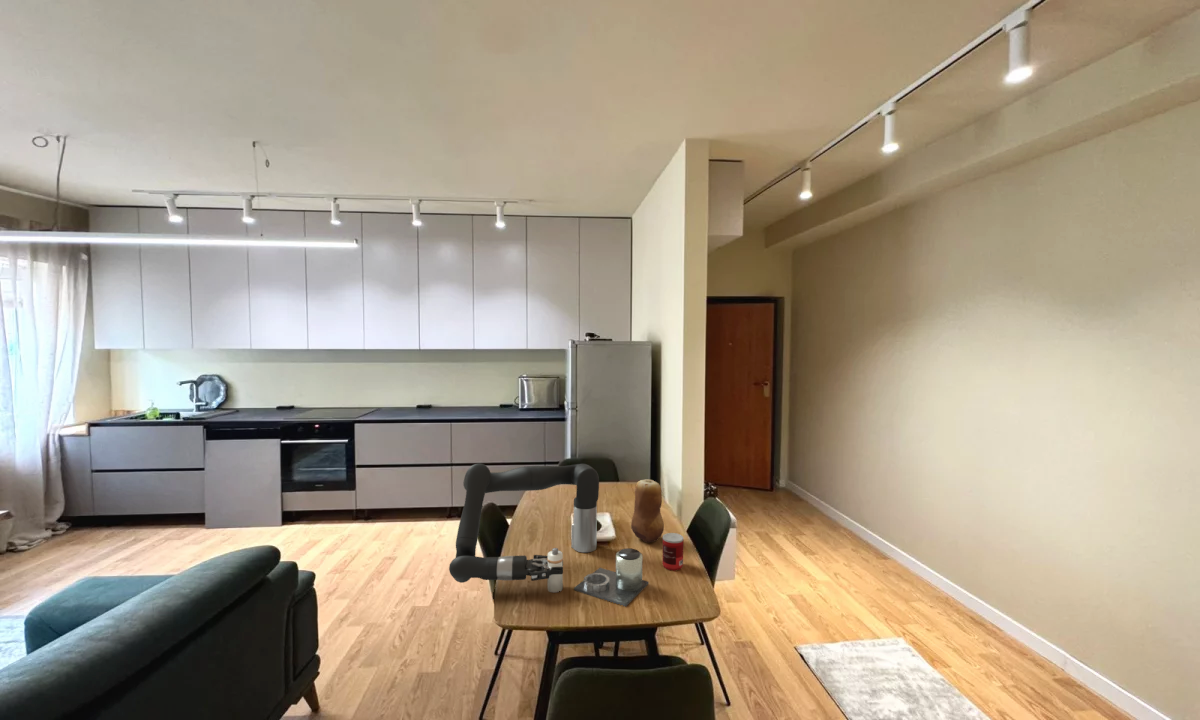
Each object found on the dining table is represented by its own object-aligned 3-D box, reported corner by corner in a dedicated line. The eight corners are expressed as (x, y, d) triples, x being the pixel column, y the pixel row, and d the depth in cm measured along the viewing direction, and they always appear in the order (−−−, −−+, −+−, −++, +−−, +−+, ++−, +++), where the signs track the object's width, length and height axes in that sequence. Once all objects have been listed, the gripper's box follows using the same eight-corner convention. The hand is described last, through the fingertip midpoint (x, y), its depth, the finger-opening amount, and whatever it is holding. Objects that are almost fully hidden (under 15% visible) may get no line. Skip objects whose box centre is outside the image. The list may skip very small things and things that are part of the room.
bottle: (544, 589, 164) (544, 550, 164) (553, 583, 169) (553, 544, 168) (556, 594, 162) (556, 554, 161) (565, 587, 166) (565, 548, 166)
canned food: (680, 561, 186) (681, 532, 186) (685, 571, 178) (685, 541, 178) (660, 561, 186) (661, 532, 186) (664, 571, 178) (664, 541, 178)
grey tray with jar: (574, 590, 164) (574, 556, 164) (599, 569, 179) (600, 538, 178) (625, 606, 154) (626, 570, 154) (648, 583, 169) (648, 550, 168)
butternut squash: (668, 538, 207) (669, 479, 206) (655, 549, 196) (656, 488, 195) (639, 531, 214) (639, 474, 213) (624, 542, 203) (625, 482, 202)
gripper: (509, 566, 157) (563, 565, 158) (514, 547, 171) (563, 546, 172) (509, 589, 157) (563, 588, 158) (514, 568, 171) (563, 567, 173)
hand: (562, 566), depth 165 cm, fingers closed on bottle, 5 cm apart
